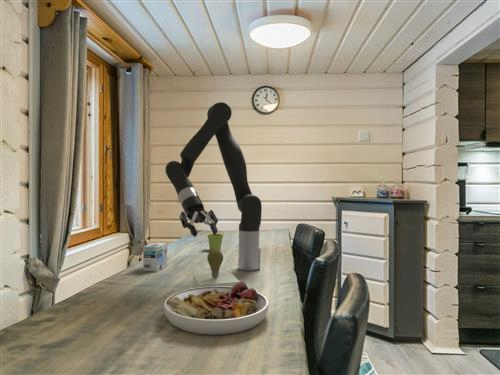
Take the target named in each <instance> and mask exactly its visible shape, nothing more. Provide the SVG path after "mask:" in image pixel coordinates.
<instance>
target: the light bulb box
mask: <svg viewBox="0 0 500 375" xmlns="http://www.w3.org/2000/svg"><path fill="white" fill-rule="evenodd" d="M142 250H143V258H142V260H143V268H142V270H143V272H155V273H157V272H159V271H162V270H163V269H165V268H167V267H168V243H167V242H166V243H165V242H153V243H150V244H146V245H144V246H143V248H142Z"/></svg>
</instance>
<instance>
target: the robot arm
mask: <svg viewBox="0 0 500 375" xmlns="http://www.w3.org/2000/svg"><path fill="white" fill-rule="evenodd" d="M232 112H233V111H232V108H231V106H230V105H229V104H228V103H227V102H224V101H220V102H219V101H218V102H216V103H214V104H213V105H211V106H210V107H209V108H208V110H207V112H206V114H207V115H206V116H207V119H206V121H204V123H203V125H202V126H201V127H200V128H199V130H198V131H197V132H196V133H195V134H194V135H193V136H192V137H191V138H190V140H189V141H188V142H187V144H185V146H184V147H183V148H182V150H181V152H180V154H179V156H180V158H181V159H180V160H181V162H179V161H178V160H171V161H169V162H168V163H167V164H166V166H165V174H166V176H167V178H168V179H169V181H170V183H171V184H172V186H173V188H174V189H175V192H176V194H177V196H178V199H179V202H180V204H181V207H182V209H183V211H181V212H180V214H179V215H178V216H179V219H180V222H181V225H182V228H184V229H188V230H189V232H190V233H191V236H192V237H193V238H194V237H197V236H198V233H199V232H198V230H197V228H196V227H195V225H194V223H195V224H199V223H200V224H204V225H207V226H209V228H210V230H211V231H212V234H214V235H215V234H218V231H219V230H218V227H217V225H218V222H219V219H218V217H217V215H216V214H215V212H214V211H213V210H212V209H211V210H209V211H206V210H205V206H204V204H203V202H202V200H201V198H200V196H199V194H198V192H197V190H196V188H195V187H194V185H193V183H192V182H191V180H190V179H189V176H190V175H191V172H192V170H193V167H194V165H195V162H196V161H197V160H198V158H199V157H200V156H201V154H202V153H203V151H204V150H205V148H206V147H207V146H208V145H209V143H210V141H211V140H212V139H213V137H214V136H215V138H216V141H217V142H216V143H217V145H218V148H219V151H220V156H221V158H222V161H223V164H224V167H225V170H226V172H227V175H228V178H229V180H230V184H231V186H232V188H233V192H234V197H235V201H236V205H237V208H238V211H240V213H241V216H240V223H239V224H238V262H237V266H238V267H237V268H238V270H242V271H246V272H247V271H257V270H261V253H262V252H261V250H262V249H261V247H260V227H261V223H262V212H263V211H262V210H263V209H262V206H263V205H262V201H261V199H260V198H259V197H258V196H257V195H254V194H253V193H252V191H251V188H250V185H249V181H248V171H247V170H248V169H247V163H246V160H245V157H244V154H243V151H242V148H241V147H240V145H239V143H238V142H237V140H236V139H235V137H234V136H233V135H232V131H231V129H230V126H229V121H230V119H231V117H232V116H233V114H232ZM188 219H189V221H188Z"/></svg>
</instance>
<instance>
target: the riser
mask: <svg viewBox="0 0 500 375" xmlns="http://www.w3.org/2000/svg"><path fill="white" fill-rule="evenodd" d="M238 282H241V281H240V280H239V279H238V278H237V277H236V276H235V275H234V274H233V273H232V272H230V271H224V272H221V271H220V272H219V276H218V277H217V278H213V277H212V272H211V273H210V272H209V273H208V272H207V273H194V274H192V288H198V287H208V286H229V287H234V285H235V284H237V283H238Z"/></svg>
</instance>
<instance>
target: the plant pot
mask: <svg viewBox="0 0 500 375" xmlns="http://www.w3.org/2000/svg"><path fill="white" fill-rule="evenodd" d="M206 235H207V239H208V244H209V245H208V247H209V252H211V251H212V250H219V251H220V252H221V249H222V244H223V238H224V233H223V234H222V233H216V234H215V235H214V234H213V233H208V234H206Z"/></svg>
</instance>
